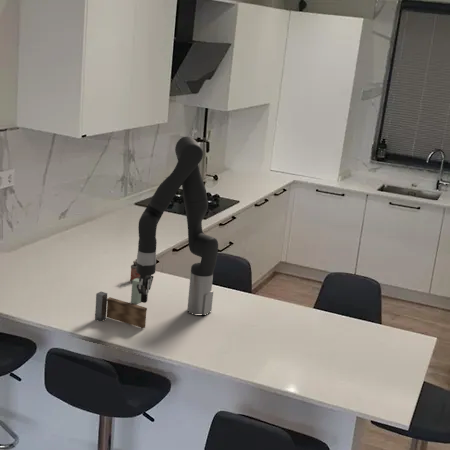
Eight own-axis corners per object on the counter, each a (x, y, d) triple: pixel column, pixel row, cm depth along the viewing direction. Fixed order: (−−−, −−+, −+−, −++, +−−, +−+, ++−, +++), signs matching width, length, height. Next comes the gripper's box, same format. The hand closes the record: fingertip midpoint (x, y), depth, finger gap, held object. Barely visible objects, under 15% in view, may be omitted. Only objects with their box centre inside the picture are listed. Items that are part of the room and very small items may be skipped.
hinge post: (105, 319, 273) (107, 293, 270) (101, 321, 270) (102, 295, 267) (99, 317, 274) (101, 291, 271) (94, 319, 271) (96, 293, 268)
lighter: (133, 283, 313) (134, 262, 310) (128, 280, 315) (129, 260, 312) (145, 279, 319) (147, 258, 316) (140, 277, 321) (142, 256, 318)
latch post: (140, 302, 293) (142, 280, 290) (136, 304, 290) (138, 281, 287) (135, 300, 294) (136, 278, 291) (130, 302, 291) (132, 280, 289)
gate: (106, 317, 273) (107, 298, 271) (108, 315, 275) (109, 297, 273) (143, 328, 267) (144, 309, 264) (145, 327, 268) (146, 307, 266)
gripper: (143, 254, 280) (141, 294, 285) (131, 265, 267) (129, 306, 272) (161, 257, 278) (158, 297, 283) (149, 268, 266) (147, 309, 271)
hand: (143, 301), depth 278 cm, fingers closed
